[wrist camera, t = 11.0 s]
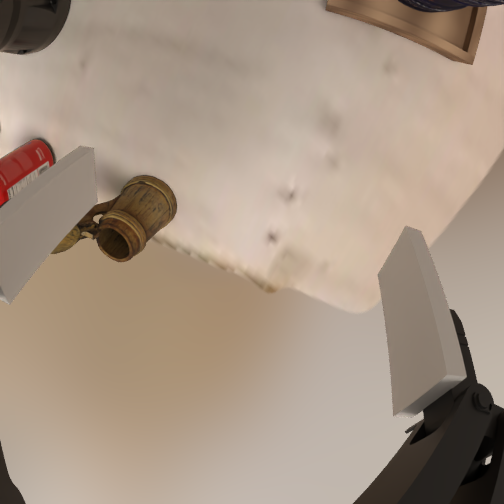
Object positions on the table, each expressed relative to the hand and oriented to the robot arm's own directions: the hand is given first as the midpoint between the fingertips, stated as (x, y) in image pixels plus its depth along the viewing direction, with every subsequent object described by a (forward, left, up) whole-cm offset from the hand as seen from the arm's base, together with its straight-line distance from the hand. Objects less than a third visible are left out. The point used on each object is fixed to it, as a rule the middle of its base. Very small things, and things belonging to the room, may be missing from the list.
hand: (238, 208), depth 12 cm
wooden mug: (-2, -27, -28) cm, 39 cm away
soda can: (-20, -38, -28) cm, 51 cm away
